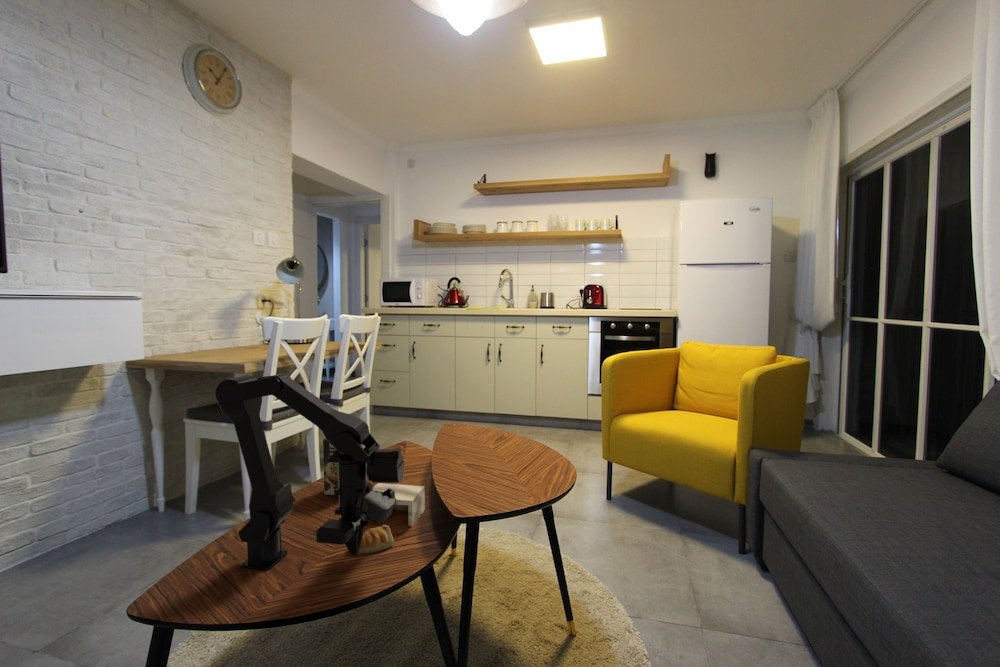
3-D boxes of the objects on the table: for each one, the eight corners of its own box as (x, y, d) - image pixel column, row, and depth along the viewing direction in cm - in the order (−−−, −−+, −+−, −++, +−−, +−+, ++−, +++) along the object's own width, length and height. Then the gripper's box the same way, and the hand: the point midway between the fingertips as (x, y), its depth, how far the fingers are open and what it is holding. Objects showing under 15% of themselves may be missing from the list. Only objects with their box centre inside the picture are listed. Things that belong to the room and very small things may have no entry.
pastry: (354, 560, 95) (353, 543, 95) (344, 547, 100) (344, 530, 100) (396, 547, 100) (395, 530, 100) (385, 534, 106) (384, 519, 106)
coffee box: (323, 495, 128) (321, 439, 127) (334, 486, 134) (333, 433, 133) (353, 496, 127) (352, 440, 126) (363, 487, 133) (362, 434, 132)
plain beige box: (412, 526, 109) (412, 500, 109) (362, 522, 111) (362, 497, 111) (424, 510, 118) (424, 486, 118) (378, 506, 120) (378, 483, 120)
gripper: (367, 503, 83) (369, 585, 83) (406, 468, 101) (408, 535, 102) (312, 499, 85) (315, 579, 85) (360, 465, 103) (362, 531, 104)
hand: (354, 554), depth 94 cm, fingers closed
